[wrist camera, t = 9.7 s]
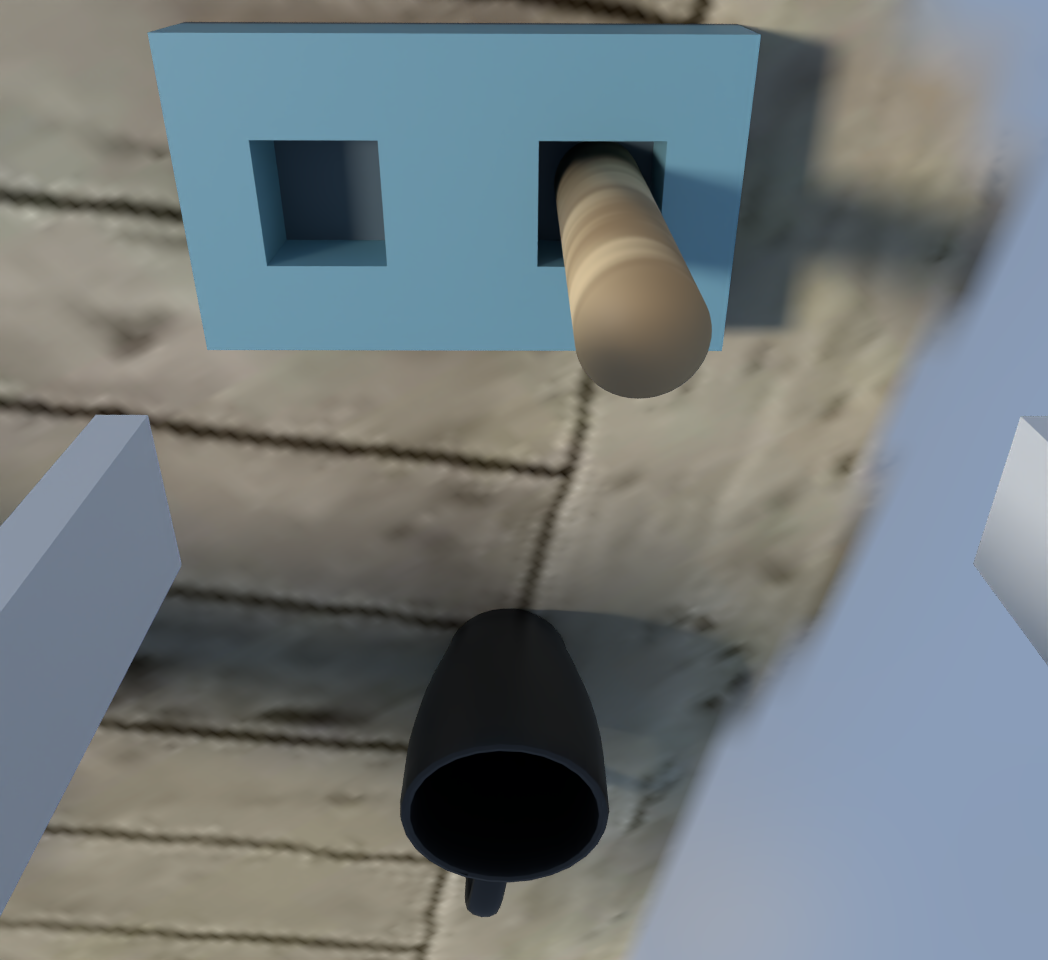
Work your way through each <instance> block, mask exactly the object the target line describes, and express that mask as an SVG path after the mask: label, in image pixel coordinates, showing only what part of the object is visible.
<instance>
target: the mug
mask: <svg viewBox="0 0 1048 960" xmlns="http://www.w3.org/2000/svg"><path fill="white" fill-rule="evenodd" d="M608 814H609V805H608V795H607V785H606V775H605V766H604V757H603V750H602V743H601V736H600V732H599V728H598V724H597V720H596V716H595V713H594V710H593V707H592V704H591V701H590V698H589V696H588V694H587V691H586V689H585V686H584V684H583V682H582V680H581V678H580V676H579V674H578V672H577V669H576V667H575V665H574V663H573V661H572V659H571V657H570V655H569V654H568V652H567V650H566V647H565V644H564V642H563V640H562V638H561V636H560V634H559V633H558V632H557V630H556V629H555V628H554V627H553V626H552V625H551V624H550V623H548V622H547V621H546V620H544V619H543V618H541V617H539V616H537V615H535V614H532V613H529V612H526V611H521V610H515V609H500V610H492V611H489V612H485V613H482V614H479V615H477V616H475V617H474V618H472V619H470V620H469V621H467V622H466V623H465V624H464V625H463V626H461V627H460V628H459V630H458V631H457V632H456V634H455V635H454V637H453V639H452V642H451V644H450V646H449V648H448V650H447V651H446V653H445V655H444V656H443V658H442V660H441V662H440V663H439V665H438V667H437V669H436V671H435V673H434V674H433V676H432V679H431V681H430V683H429V685H428V687H427V690H426V692H425V695H424V697H423V700H422V703H421V705H420V708H419V711H418V714H417V717H416V720H415V723H414V726H413V730H412V733H411V737H410V740H409V745H408V752H407V758H406V764H405V772H404V779H403V786H402V793H401V801H400V817H401V821H402V824H403V827H404V830H405V833H406V836H407V837H408V838H409V840H410V841H411V843H412V844H413V845H414V847H415V848H416V849H417V850H418V851H419V852H420V853H421V854H422V855H424V856H425V857H426V858H427V859H428V860H429V861H431V862H433V863H434V864H436V865H438V866H440V867H441V868H443V869H445V870H447V871H450V872H453V873H455V874H458V875H461V876H464V877H466V886H465V903H466V907H467V910H468V911H470V912H471V913H472V914H474V915H477V916H480V917H490V916H492V915H494V914H496V913H497V912H498V910H499V908H500V906H501V903H502V900H503V896H504V892H505V888H506V883H507V882H518V881H528V880H534V879H538V878H542V877H546V876H550V875H553V874H555V873H558V872H560V871H562V870H565V869H567V868H569V867H571V866H572V865H574V864H575V863H577V862H578V861H580V860H581V859H583V858H584V857H586V856H587V855H588V854H589V853H590V852H591V850H592V849H593V848H594V847H595V846H596V845H597V844H598V842H599V840H600V839H601V837H602V835H603V833H604V831H605V829H606V825H607V820H608Z"/></svg>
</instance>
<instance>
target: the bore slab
mask: <svg viewBox="0 0 1048 960" xmlns="http://www.w3.org/2000/svg"><path fill="white" fill-rule="evenodd" d="M148 37H149V43H150V48H151V53H152V58H153V64H154V69H155V74H156V80H157V85H158V90H159V96H160V101H161V106H162V111H163V117H164V122H165V127H166V133H167V138H168V143H169V149H170V154H171V159H172V164H173V170H174V175H175V180H176V186H177V191H178V196H179V202H180V207H181V212H182V217H183V223H184V228H185V233H186V239H187V244H188V249H189V255H190V260H191V265H192V270H193V276H194V281H195V286H196V292H197V297H198V302H199V308H200V313H201V318H202V323H203V329H204V334H205V339H206V345H207V350H568V351H576V348H575V341H574V334H573V326H572V319H571V311H570V304H569V296H568V288H567V281H566V273H565V266H564V258H563V251H562V243H561V236H560V228H559V220H558V213H557V205H556V198H555V190H554V179H555V174H556V170H557V167H558V165H559V163H560V161H561V160H562V158H563V157H564V155H565V154H566V153H567V152H568V151H569V150H570V149H571V148H573V147H574V146H576V145H577V144H579V143H581V142H584V141H614V142H616V143H618V144H620V145H621V146H623V147H624V148H625V149H626V150H627V151H628V152H629V153H630V154H631V155H632V157H633V158H634V160H635V162H636V164H637V166H638V168H639V170H640V172H641V174H642V176H643V178H644V180H645V182H646V184H647V186H648V188H649V190H650V192H651V194H652V196H653V198H654V200H655V202H656V204H657V206H658V208H659V210H660V212H661V214H662V216H663V218H664V220H665V222H666V224H667V226H668V228H669V230H670V232H671V234H672V236H673V238H674V240H675V242H676V244H677V246H678V249H679V251H680V253H681V255H682V257H683V259H684V261H685V263H686V265H687V267H688V269H689V271H690V273H691V275H692V277H693V279H694V281H695V283H696V285H697V287H698V289H699V291H700V293H701V295H702V297H703V299H704V301H705V303H706V305H707V308H708V310H709V313H710V317H711V324H712V337H711V342H710V347H709V350H708V351H722V345H723V337H724V329H725V321H726V313H727V305H728V297H729V289H730V281H731V272H732V264H733V256H734V248H735V240H736V232H737V224H738V216H739V208H740V200H741V192H742V184H743V176H744V168H745V160H746V151H747V143H748V135H749V127H750V119H751V111H752V103H753V95H754V87H755V79H756V71H757V63H758V55H759V47H760V38H761V35H760V34H758V33H756V32H754V31H751V30H749V29H747V28H745V27H742V26H740V25H738V24H569V23H283V22H184V23H180V24H177V25H173V26H170V27H166V28H162V29H159V30H155V31H152V32H148Z"/></svg>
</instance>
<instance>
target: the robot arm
mask: <svg viewBox="0 0 1048 960" xmlns="http://www.w3.org/2000/svg"><path fill="white" fill-rule="evenodd" d="M973 564H974V566H975V567H976V568H977V570H978V571H979V572H980V574H981V575H982V577H983V578H984V579H985V581H986V582H987V583H988V585H989V586H990V587H991V589H992V590H993V592H994V593H995V594H996V596H997V597H998V598H999V600H1000V601H1001V602H1002V604H1003V605H1004V607H1005V608H1006V609H1007V611H1008V612H1009V613H1010V615H1011V616H1012V617H1013V619H1014V620H1015V621H1016V623H1017V624H1018V625H1019V627H1020V628H1021V630H1022V631H1023V632H1024V634H1025V635H1026V636H1027V638H1028V639H1029V641H1030V642H1031V643H1032V645H1033V646H1034V647H1035V649H1036V650H1037V651H1038V653H1039V654H1040V656H1041V657H1042V658H1043V660H1044V661H1045V662H1046V664H1047V665H1048V416H1021V418H1020V421H1019V424H1018V427H1017V430H1016V433H1015V436H1014V439H1013V442H1012V445H1011V448H1010V452H1009V455H1008V458H1007V461H1006V464H1005V467H1004V470H1003V474H1002V476H1001V480H1000V483H999V486H998V489H997V492H996V495H995V498H994V501H993V504H992V507H991V511H990V514H989V517H988V520H987V523H986V526H985V529H984V532H983V536H982V539H981V541H980V545H979V548H978V551H977V554H976V557H975V560H974V563H973ZM181 566H182V564H181V559H180V555H179V551H178V546H177V542H176V537H175V533H174V529H173V524H172V520H171V515H170V511H169V507H168V502H167V498H166V493H165V489H164V485H163V480H162V476H161V471H160V467H159V463H158V458H157V454H156V449H155V445H154V441H153V436H152V432H151V427H150V423H149V418H148V415H96V416H95V417H94V418H93V419H92V420H91V421H90V423H89V424H88V425H87V426H86V427H85V428H84V430H83V431H82V432H81V433H80V434H79V435H78V437H77V438H76V439H75V440H74V441H73V442H72V444H71V445H70V446H69V447H68V448H67V449H66V451H65V452H64V453H63V454H62V455H61V456H60V458H59V459H58V460H57V461H56V462H55V463H54V465H53V466H52V467H51V468H50V469H49V471H48V472H47V473H46V474H45V475H44V476H43V478H42V479H41V480H40V481H39V482H38V483H37V485H36V486H35V487H34V488H33V489H32V490H31V492H30V493H29V494H28V495H27V496H26V497H25V499H24V500H23V501H22V502H21V503H20V504H19V506H18V507H17V508H16V509H15V510H14V511H13V513H12V514H11V515H10V516H9V517H8V518H7V520H6V521H5V522H4V523H3V524H2V525H1V527H0V916H1V914H2V912H3V910H4V908H5V906H6V904H7V902H8V900H9V898H10V896H11V894H12V893H13V891H14V889H15V887H16V885H17V883H18V881H19V879H20V877H21V875H22V873H23V871H24V869H25V867H26V865H27V864H28V862H29V860H30V858H31V856H32V854H33V852H34V850H35V848H36V846H37V844H38V842H39V840H40V838H41V836H42V835H43V833H44V831H45V829H46V827H47V825H48V823H49V821H50V819H51V817H52V815H53V813H54V811H55V809H56V807H57V805H58V804H59V802H60V800H61V798H62V796H63V794H64V792H65V790H66V788H67V786H68V784H69V782H70V780H71V778H72V776H73V775H74V773H75V771H76V769H77V767H78V765H79V763H80V761H81V759H82V757H83V755H84V753H85V751H86V749H87V747H88V745H89V744H90V742H91V740H92V738H93V736H94V734H95V732H96V730H97V728H98V726H99V724H100V722H101V720H102V718H103V716H104V715H105V713H106V711H107V709H108V707H109V705H110V703H111V701H112V699H113V697H114V695H115V693H116V691H117V689H118V687H119V686H120V684H121V682H122V680H123V678H124V676H125V674H126V672H127V670H128V668H129V666H130V664H131V662H132V660H133V658H134V656H135V655H136V653H137V651H138V649H139V647H140V645H141V643H142V641H143V639H144V637H145V635H146V633H147V631H148V629H149V627H150V626H151V624H152V622H153V620H154V618H155V616H156V614H157V612H158V610H159V608H160V606H161V604H162V602H163V600H164V598H165V596H166V595H167V593H168V591H169V589H170V587H171V585H172V583H173V581H174V579H175V577H176V575H177V573H178V571H179V569H180V567H181Z"/></svg>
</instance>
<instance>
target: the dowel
mask: <svg viewBox="0 0 1048 960" xmlns="http://www.w3.org/2000/svg"><path fill="white" fill-rule="evenodd" d="M554 190H555V198H556V205H557V213H558V220H559V228H560V236H561V243H562V251H563V258H564V266H565V273H566V281H567V288H568V296H569V304H570V311H571V319H572V326H573V334H574V341H575V348H576V353H577V356H578V360H579V362H580V364H581V366H582V368H583V369H584V371H585V372H586V374H587V375H588V376H589V377H590V378H591V380H592V381H594V382H595V383H596V384H597V385H598V386H600V387H601V388H603V389H604V390H606V391H608V392H610V393H613V394H615V395H619V396H622V397H627V398H650V397H655V396H659V395H662V394H665V393H668V392H670V391H672V390H674V389H676V388H677V387H679V386H681V385H682V384H683V383H685V382H686V381H687V380H688V379H689V378H691V377H692V376H693V375H694V373H695V372H696V371H697V370H698V369H699V367H700V366H701V364H702V363H703V361H704V359H705V357H706V355H707V353H708V350H709V347H710V342H711V337H712V324H711V317H710V313H709V310H708V308H707V305H706V303H705V301H704V299H703V297H702V295H701V293H700V291H699V289H698V287H697V285H696V283H695V281H694V279H693V277H692V275H691V273H690V271H689V269H688V267H687V265H686V263H685V261H684V259H683V257H682V255H681V253H680V251H679V249H678V246H677V244H676V242H675V240H674V238H673V236H672V234H671V232H670V230H669V228H668V226H667V224H666V222H665V220H664V218H663V216H662V214H661V212H660V210H659V208H658V206H657V204H656V202H655V200H654V198H653V196H652V194H651V192H650V190H649V188H648V186H647V184H646V182H645V180H644V178H643V176H642V174H641V172H640V170H639V168H638V166H637V164H636V162H635V160H634V158H633V157H632V155H631V154H630V153H629V152H628V151H627V150H626V149H625V148H624V147H623V146H621V145H620V144H618V143H616V142H614V141H584V142H581V143H579V144H577V145H576V146H574V147H573V148H571V149H570V150H569V151H568V152H567V153H566V154H565V155H564V157H563V158H562V160H561V161H560V163H559V165H558V167H557V170H556V174H555V179H554Z"/></svg>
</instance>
